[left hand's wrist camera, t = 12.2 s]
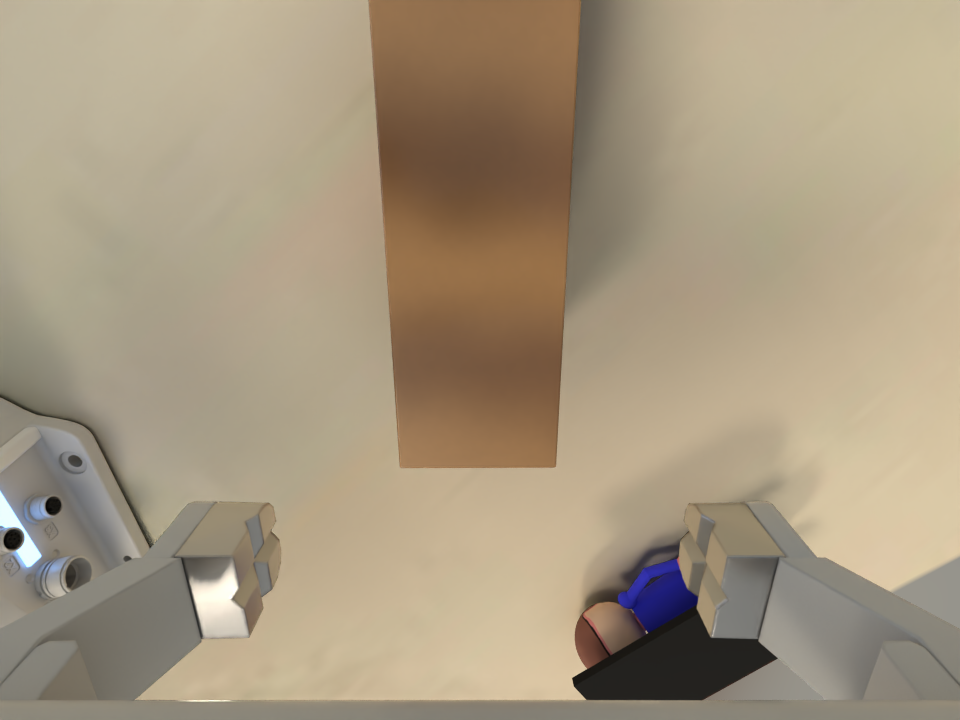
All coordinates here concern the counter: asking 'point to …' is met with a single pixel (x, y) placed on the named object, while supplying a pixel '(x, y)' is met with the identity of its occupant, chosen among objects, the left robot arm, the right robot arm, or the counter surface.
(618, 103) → the counter surface
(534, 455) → the box
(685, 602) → the figurine character
